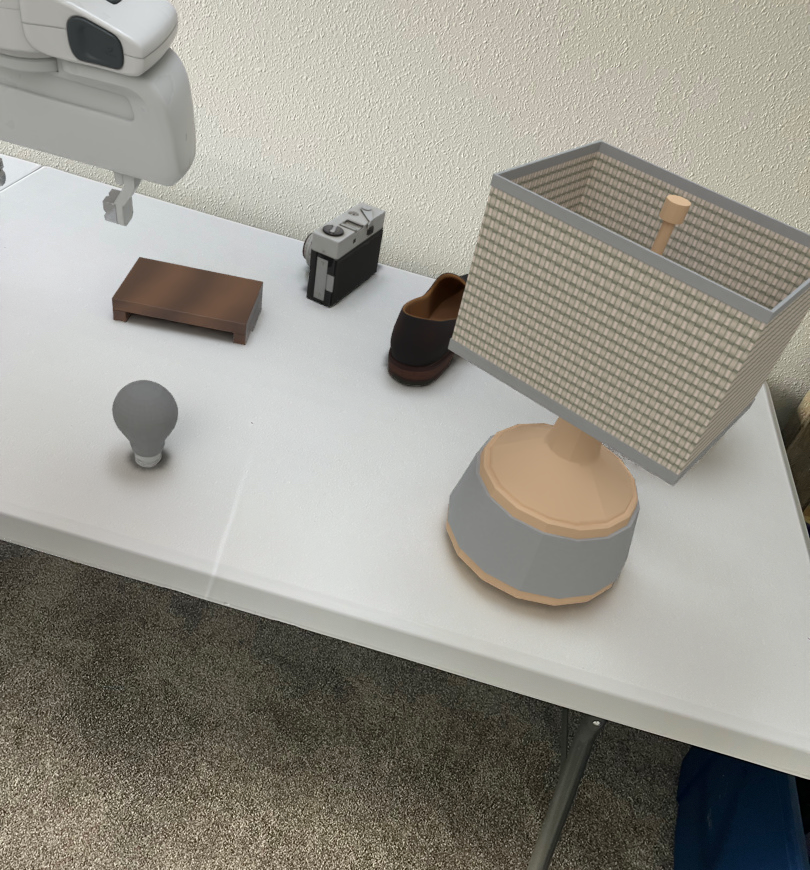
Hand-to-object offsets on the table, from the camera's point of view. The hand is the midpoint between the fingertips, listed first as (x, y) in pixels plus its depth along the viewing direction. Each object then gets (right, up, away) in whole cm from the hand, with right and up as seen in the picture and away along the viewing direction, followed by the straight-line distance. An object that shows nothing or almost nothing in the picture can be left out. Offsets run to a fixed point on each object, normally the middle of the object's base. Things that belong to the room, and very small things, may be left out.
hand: (55, 202), depth 57 cm
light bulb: (-1, -17, +23) cm, 29 cm away
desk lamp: (+38, -26, +25) cm, 53 cm away
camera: (+15, +13, +56) cm, 60 cm away
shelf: (-2, +4, +43) cm, 43 cm away
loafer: (+31, +2, +50) cm, 59 cm away
